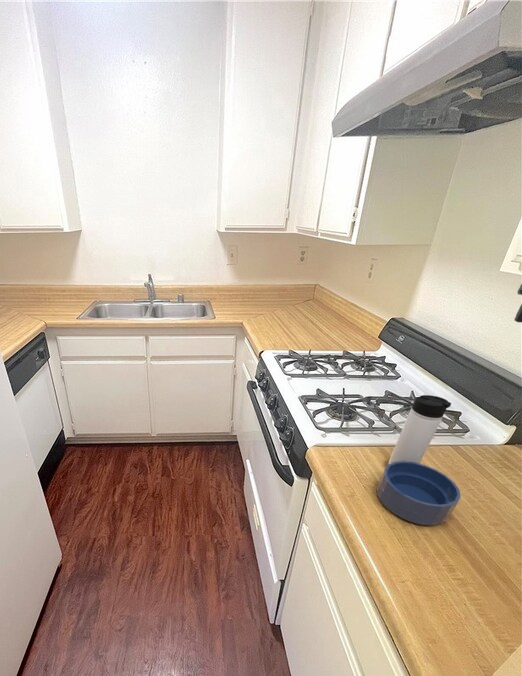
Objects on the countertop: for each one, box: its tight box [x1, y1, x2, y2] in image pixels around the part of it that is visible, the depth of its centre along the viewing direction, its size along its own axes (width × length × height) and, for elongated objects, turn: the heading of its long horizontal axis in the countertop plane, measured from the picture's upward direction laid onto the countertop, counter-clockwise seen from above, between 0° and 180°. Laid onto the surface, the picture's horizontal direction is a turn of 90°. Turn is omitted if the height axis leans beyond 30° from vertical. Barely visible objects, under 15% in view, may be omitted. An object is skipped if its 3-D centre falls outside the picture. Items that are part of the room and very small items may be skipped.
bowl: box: [376, 461, 462, 526], centre depth 75 cm, size 14×14×6 cm
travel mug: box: [387, 394, 452, 466], centre depth 81 cm, size 6×7×20 cm
